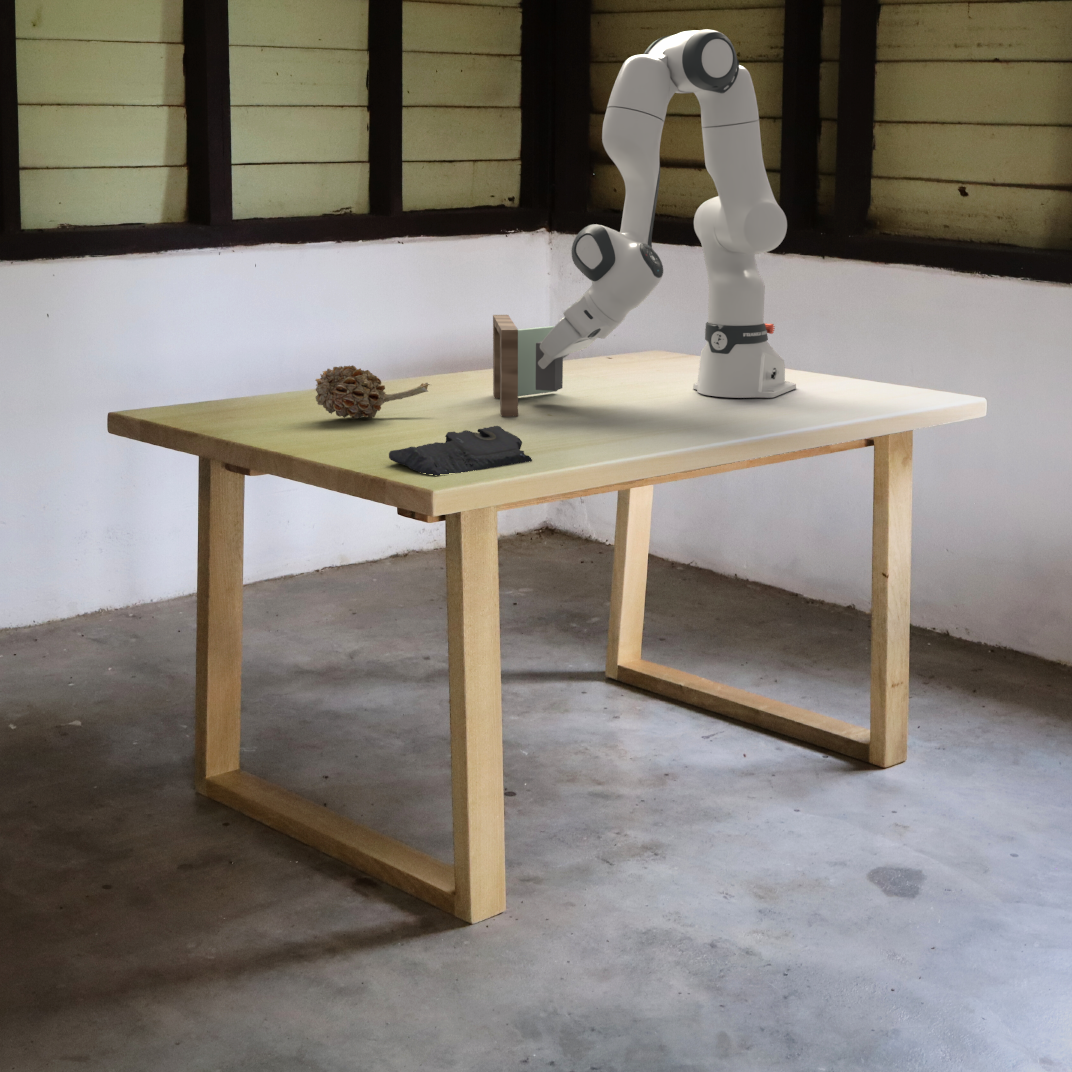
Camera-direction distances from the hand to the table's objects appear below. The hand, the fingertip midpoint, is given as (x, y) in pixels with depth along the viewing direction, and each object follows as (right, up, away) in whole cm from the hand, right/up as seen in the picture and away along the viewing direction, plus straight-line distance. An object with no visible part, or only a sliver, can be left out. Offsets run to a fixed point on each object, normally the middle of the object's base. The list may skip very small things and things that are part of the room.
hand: (546, 364), depth 291 cm
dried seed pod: (-32, -12, -13) cm, 37 cm away
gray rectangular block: (0, -5, +1) cm, 5 cm away
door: (-4, -5, +10) cm, 12 cm away
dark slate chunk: (-14, -22, -51) cm, 57 cm away
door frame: (-8, -8, 0) cm, 11 cm away
